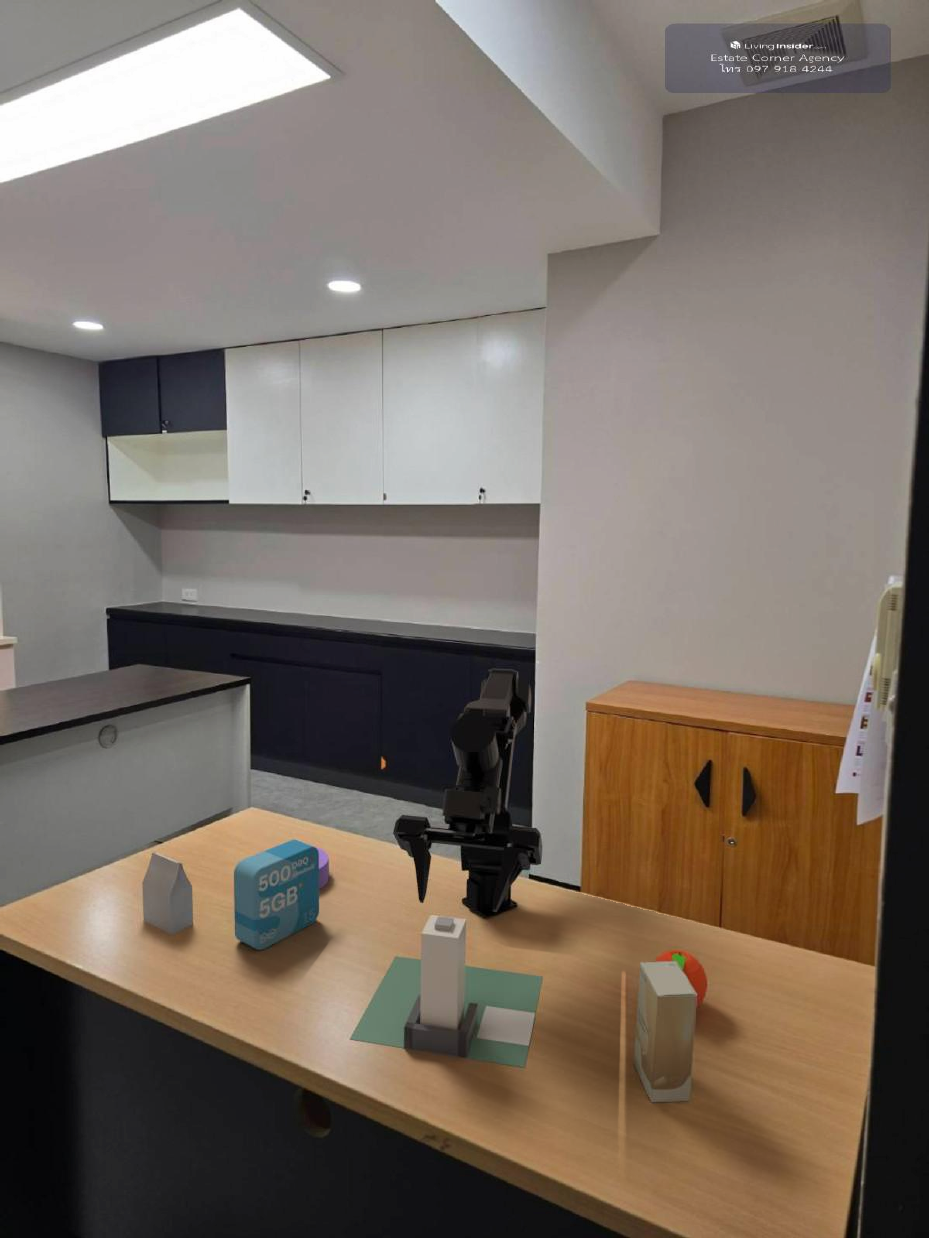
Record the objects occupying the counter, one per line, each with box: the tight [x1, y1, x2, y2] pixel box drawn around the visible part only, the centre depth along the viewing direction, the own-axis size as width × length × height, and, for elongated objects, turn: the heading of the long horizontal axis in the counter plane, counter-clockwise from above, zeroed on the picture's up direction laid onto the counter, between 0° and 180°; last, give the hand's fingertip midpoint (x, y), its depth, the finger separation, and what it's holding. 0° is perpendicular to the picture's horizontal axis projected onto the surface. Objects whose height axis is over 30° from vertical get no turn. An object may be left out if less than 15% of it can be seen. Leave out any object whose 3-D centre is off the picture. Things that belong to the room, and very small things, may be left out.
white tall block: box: [420, 914, 467, 1030], centre depth 88 cm, size 4×4×14 cm
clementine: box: [653, 949, 708, 1007], centre depth 95 cm, size 8×7×7 cm
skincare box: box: [633, 961, 698, 1103], centre depth 82 cm, size 6×4×12 cm
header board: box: [349, 955, 543, 1069], centre depth 93 cm, size 18×20×4 cm
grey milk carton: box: [141, 851, 194, 935], centre depth 113 cm, size 4×7×10 cm, turn 55°
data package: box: [233, 839, 320, 951], centre depth 111 cm, size 12×4×12 cm, turn 143°
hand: (457, 906), depth 94 cm, fingers open, 9 cm apart
